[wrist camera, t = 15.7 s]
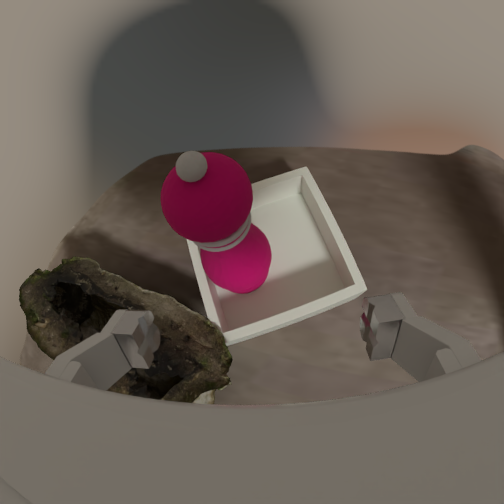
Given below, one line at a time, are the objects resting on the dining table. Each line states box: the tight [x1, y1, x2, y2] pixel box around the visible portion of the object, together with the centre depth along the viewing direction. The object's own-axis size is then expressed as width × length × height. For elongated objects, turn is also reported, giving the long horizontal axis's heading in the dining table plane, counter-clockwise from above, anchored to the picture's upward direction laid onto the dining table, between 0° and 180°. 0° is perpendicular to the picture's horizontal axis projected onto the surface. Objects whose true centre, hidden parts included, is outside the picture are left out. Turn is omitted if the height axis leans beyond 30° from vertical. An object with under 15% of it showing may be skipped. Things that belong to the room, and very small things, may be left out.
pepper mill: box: [161, 151, 272, 294], centre depth 23 cm, size 7×7×20 cm
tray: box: [187, 167, 367, 346], centre depth 31 cm, size 16×16×5 cm
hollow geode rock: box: [19, 256, 232, 404], centre depth 26 cm, size 28×13×15 cm
